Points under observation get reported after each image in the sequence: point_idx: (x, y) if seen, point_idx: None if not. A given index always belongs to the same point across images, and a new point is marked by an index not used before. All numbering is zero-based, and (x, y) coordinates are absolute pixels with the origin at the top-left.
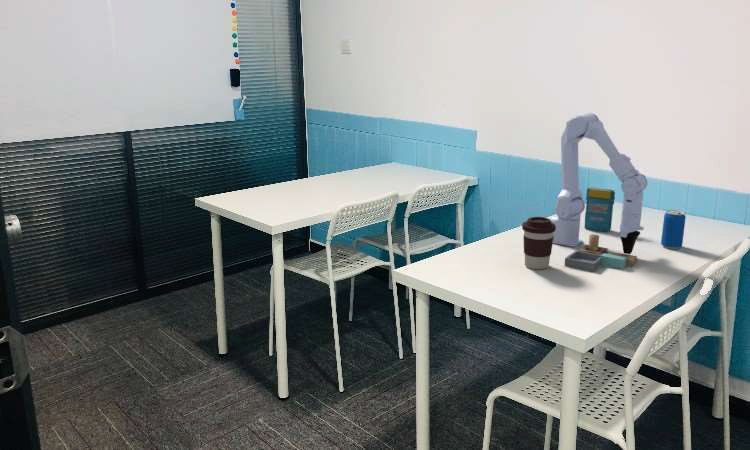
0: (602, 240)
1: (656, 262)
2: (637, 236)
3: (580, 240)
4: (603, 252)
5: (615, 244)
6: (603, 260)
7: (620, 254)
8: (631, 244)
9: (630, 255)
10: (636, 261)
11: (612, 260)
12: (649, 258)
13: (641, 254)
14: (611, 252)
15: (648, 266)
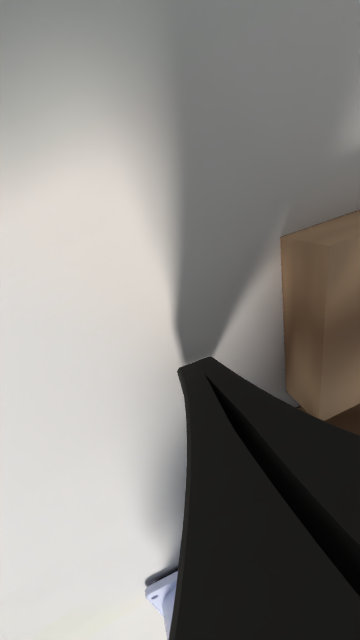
0: (29, 600)
1: (146, 59)
2: (333, 580)
3: (159, 591)
4: (357, 427)
5: (19, 549)
6: None
7: (345, 358)
8: (302, 417)
9: (338, 298)
10: (288, 238)
11: None
12: (80, 214)
13: (40, 339)
14: (332, 411)
15: (325, 82)
